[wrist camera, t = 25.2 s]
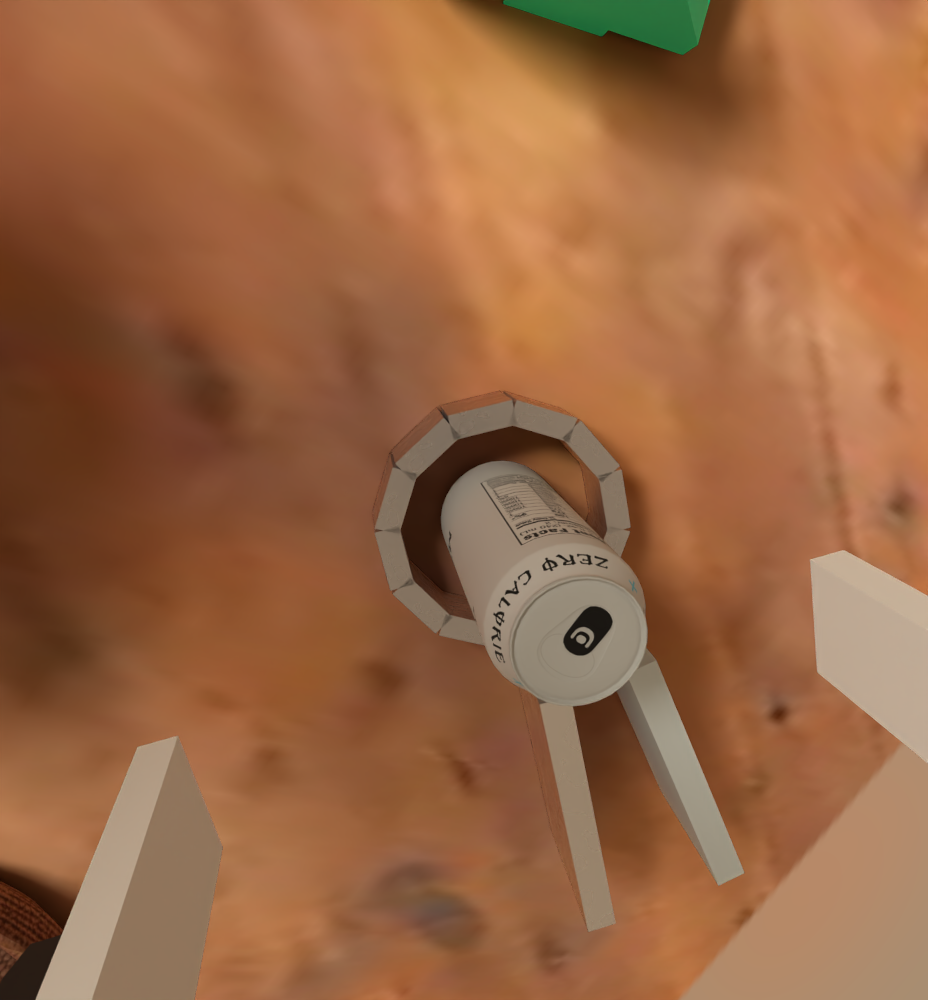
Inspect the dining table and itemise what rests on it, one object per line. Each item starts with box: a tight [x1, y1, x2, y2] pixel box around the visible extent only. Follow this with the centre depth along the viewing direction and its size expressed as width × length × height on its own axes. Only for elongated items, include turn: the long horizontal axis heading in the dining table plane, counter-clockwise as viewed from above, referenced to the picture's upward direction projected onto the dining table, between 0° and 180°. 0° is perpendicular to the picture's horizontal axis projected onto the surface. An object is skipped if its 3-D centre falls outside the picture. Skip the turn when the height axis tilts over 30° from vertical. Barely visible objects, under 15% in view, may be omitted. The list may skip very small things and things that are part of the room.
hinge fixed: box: [373, 391, 631, 932], centre depth 38 cm, size 12×27×8 cm, turn 12°
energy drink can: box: [441, 461, 648, 706], centre depth 32 cm, size 6×6×15 cm
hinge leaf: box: [617, 648, 744, 886], centre depth 40 cm, size 2×14×8 cm, turn 25°
